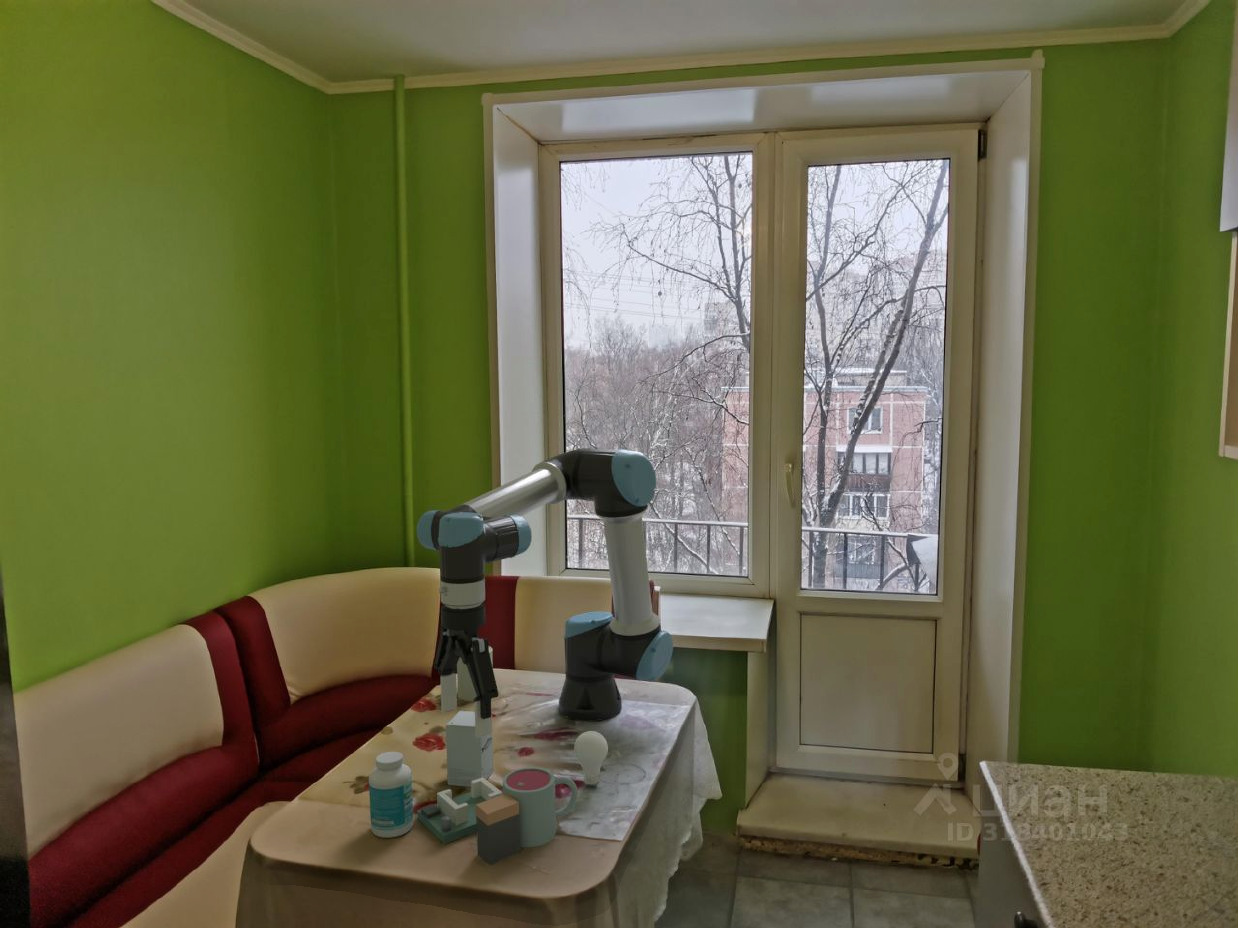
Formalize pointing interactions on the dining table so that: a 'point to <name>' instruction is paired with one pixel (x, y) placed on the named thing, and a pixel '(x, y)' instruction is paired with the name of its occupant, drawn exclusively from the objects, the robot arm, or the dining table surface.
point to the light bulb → (591, 755)
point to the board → (456, 811)
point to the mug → (537, 802)
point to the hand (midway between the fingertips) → (465, 722)
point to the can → (466, 681)
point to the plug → (498, 828)
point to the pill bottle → (390, 796)
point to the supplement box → (467, 751)
